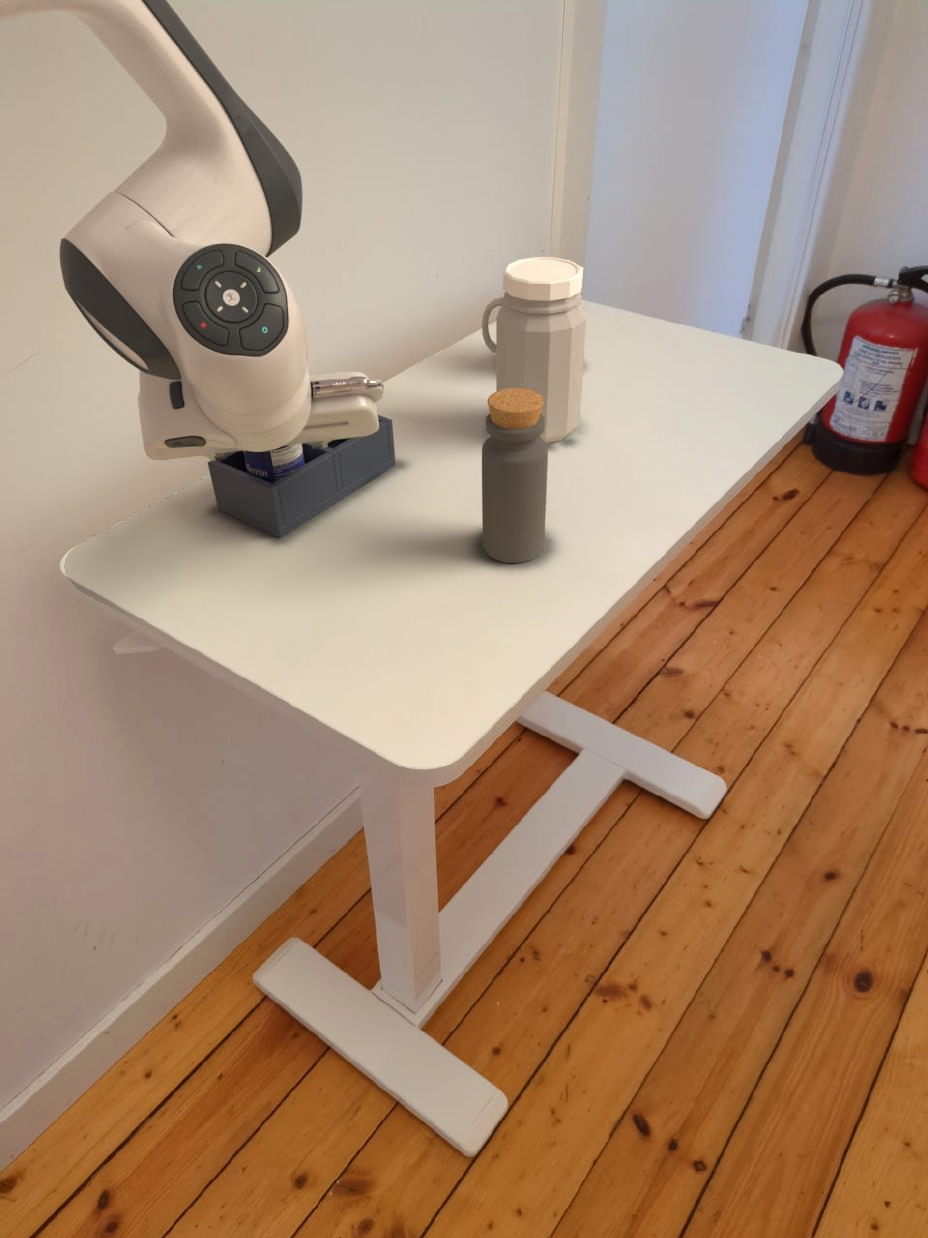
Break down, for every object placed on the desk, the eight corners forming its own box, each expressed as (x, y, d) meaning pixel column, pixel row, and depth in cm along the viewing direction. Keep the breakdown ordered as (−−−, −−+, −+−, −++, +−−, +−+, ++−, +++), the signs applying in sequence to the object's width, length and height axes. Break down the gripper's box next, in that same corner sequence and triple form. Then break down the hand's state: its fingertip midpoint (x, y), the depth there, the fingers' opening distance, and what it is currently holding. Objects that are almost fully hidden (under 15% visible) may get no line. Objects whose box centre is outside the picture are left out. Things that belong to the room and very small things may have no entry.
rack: (280, 538, 87) (271, 489, 84) (217, 510, 91) (207, 462, 88) (395, 465, 98) (392, 419, 94) (334, 443, 102) (329, 398, 99)
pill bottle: (242, 492, 92) (223, 402, 85) (290, 474, 94) (275, 384, 88) (270, 515, 88) (253, 422, 82) (319, 494, 91) (306, 403, 85)
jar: (532, 456, 99) (537, 291, 87) (479, 424, 105) (477, 266, 94) (598, 430, 103) (610, 270, 92) (543, 401, 109) (548, 248, 98)
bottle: (521, 571, 82) (524, 420, 72) (470, 550, 85) (467, 402, 75) (556, 542, 85) (563, 395, 76) (505, 522, 88) (507, 378, 79)
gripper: (378, 340, 73) (372, 401, 86) (118, 367, 70) (154, 426, 83) (391, 415, 72) (382, 464, 86) (128, 445, 69) (163, 492, 83)
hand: (268, 446), depth 84 cm, fingers open, 8 cm apart
